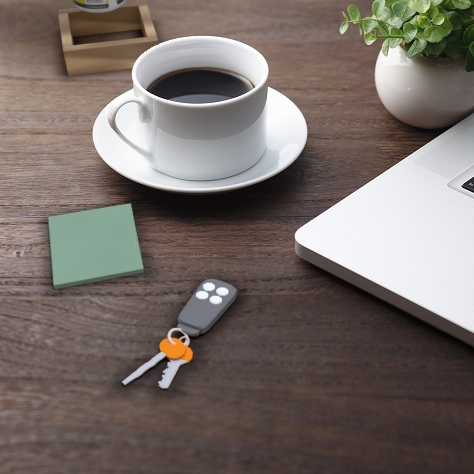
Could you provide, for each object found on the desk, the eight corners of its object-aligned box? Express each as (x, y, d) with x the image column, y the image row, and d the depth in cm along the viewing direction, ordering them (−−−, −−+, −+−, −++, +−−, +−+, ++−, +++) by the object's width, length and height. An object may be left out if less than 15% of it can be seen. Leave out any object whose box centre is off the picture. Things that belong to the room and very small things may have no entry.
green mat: (49, 221, 81) (47, 216, 81) (131, 207, 84) (130, 202, 83) (54, 290, 74) (53, 285, 74) (144, 273, 77) (143, 268, 76)
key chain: (204, 284, 76) (203, 272, 75) (240, 296, 75) (239, 284, 74) (121, 385, 67) (118, 374, 66) (161, 401, 66) (158, 389, 65)
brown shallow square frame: (62, 34, 110) (57, 9, 108) (149, 24, 113) (146, 0, 111) (68, 76, 102) (63, 51, 100) (161, 65, 105) (158, 40, 103)
